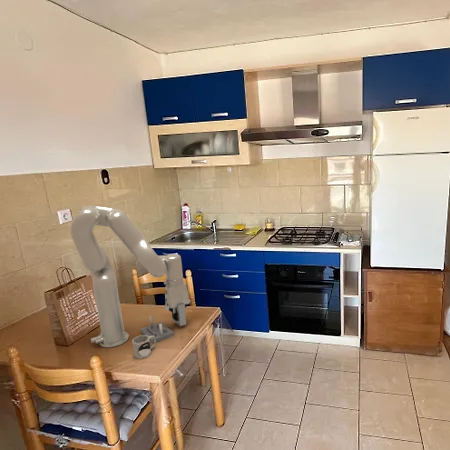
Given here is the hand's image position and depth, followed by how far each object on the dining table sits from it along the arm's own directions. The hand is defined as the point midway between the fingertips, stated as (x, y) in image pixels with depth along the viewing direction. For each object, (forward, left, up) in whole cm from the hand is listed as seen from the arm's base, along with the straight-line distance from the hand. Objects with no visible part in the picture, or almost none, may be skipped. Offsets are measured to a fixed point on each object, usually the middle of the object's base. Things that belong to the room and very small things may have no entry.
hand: (179, 318), depth 170 cm
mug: (-21, -12, -4) cm, 25 cm away
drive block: (0, 0, -2) cm, 2 cm away
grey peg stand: (-11, 0, -3) cm, 12 cm away
